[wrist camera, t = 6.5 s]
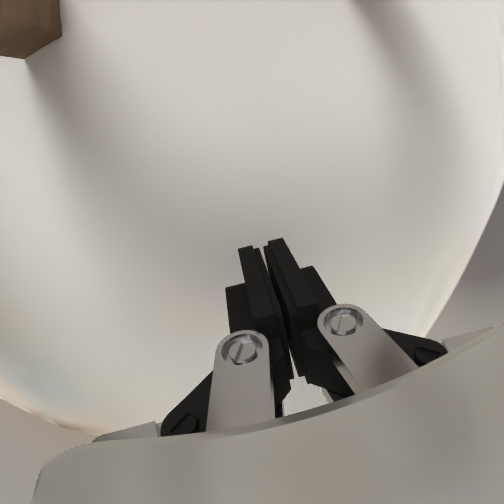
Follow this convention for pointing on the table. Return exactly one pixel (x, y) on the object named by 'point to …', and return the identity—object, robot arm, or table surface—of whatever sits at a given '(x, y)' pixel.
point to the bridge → (27, 26)
